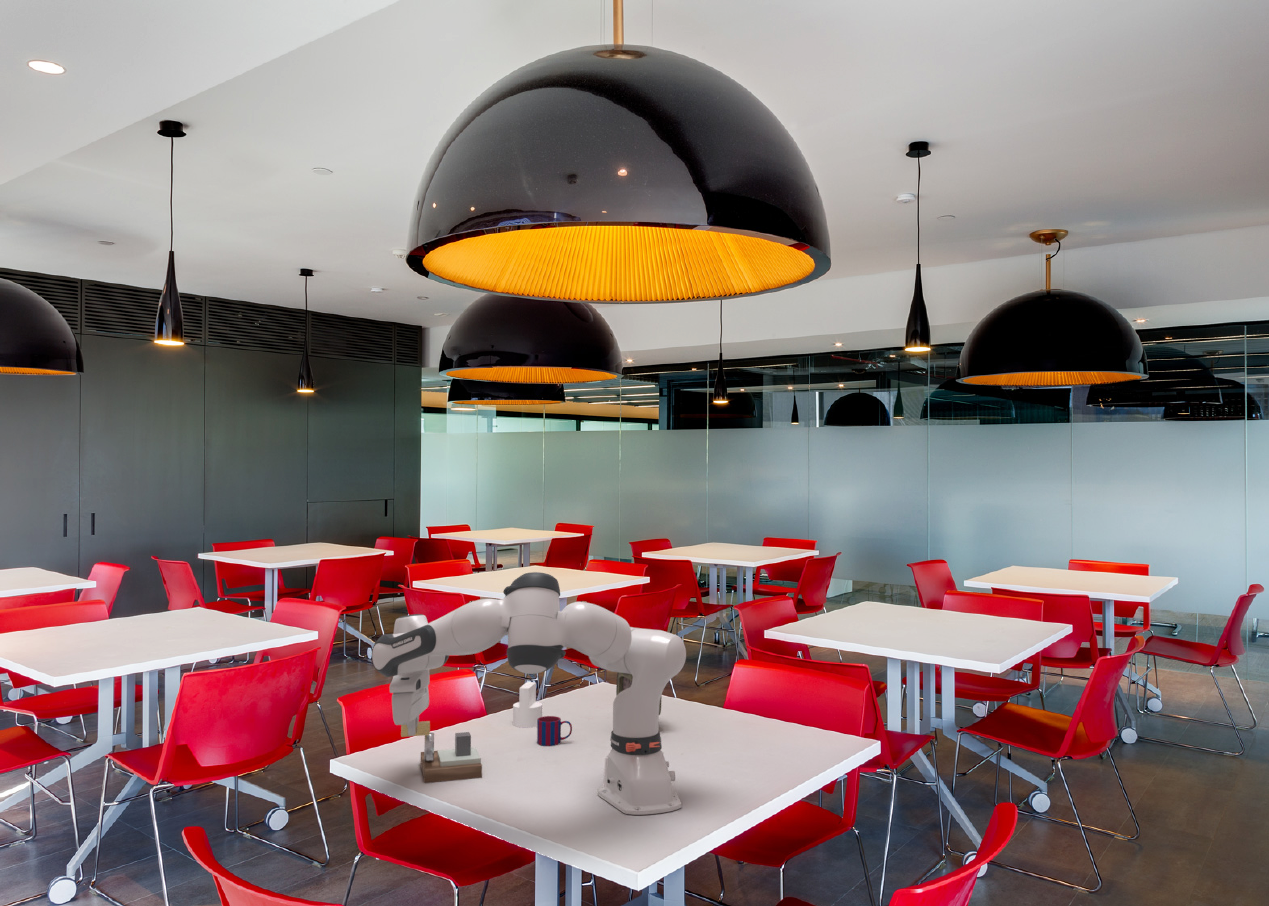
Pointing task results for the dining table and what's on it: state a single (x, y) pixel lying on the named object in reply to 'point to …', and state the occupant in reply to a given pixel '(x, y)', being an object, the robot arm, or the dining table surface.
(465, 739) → the cover
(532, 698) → the cylinder with rectangular tab
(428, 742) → the post with tan bar
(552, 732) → the mug
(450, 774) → the housing
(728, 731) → the dining table surface
